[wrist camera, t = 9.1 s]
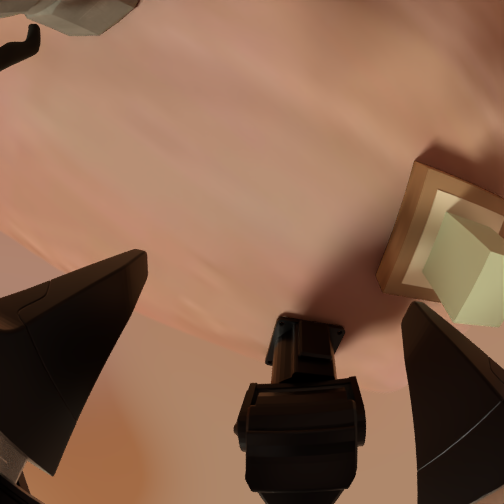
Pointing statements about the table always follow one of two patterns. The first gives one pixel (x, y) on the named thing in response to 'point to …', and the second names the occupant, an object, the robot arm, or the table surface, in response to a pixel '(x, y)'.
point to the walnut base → (430, 227)
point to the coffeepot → (59, 21)
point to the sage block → (468, 271)
